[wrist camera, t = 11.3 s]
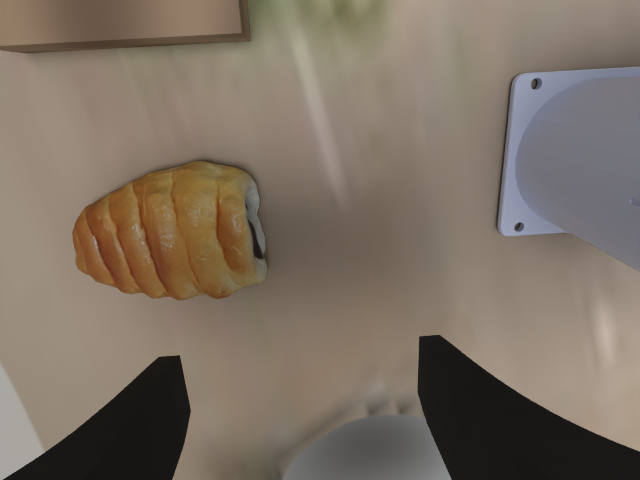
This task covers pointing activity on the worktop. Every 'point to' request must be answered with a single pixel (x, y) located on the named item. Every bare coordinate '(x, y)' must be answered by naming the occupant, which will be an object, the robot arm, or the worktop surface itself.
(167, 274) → the pastry
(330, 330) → the worktop surface
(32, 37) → the walnut base block
